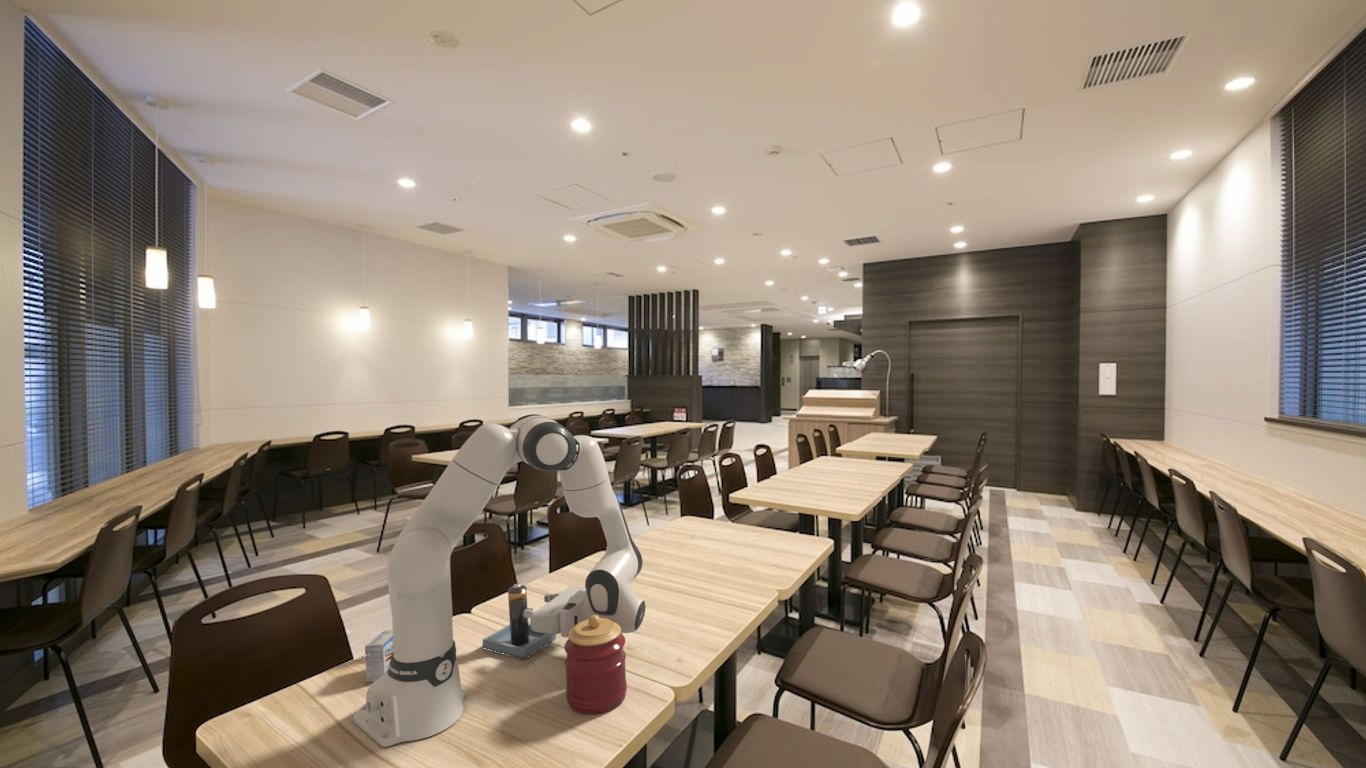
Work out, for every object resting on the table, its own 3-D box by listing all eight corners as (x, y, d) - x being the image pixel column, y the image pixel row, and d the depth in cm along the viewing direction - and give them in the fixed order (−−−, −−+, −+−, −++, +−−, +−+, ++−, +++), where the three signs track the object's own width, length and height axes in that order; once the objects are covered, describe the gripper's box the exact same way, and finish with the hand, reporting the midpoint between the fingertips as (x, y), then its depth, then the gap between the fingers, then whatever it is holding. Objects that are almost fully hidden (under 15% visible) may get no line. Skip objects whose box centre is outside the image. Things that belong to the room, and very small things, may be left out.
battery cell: (507, 642, 139) (504, 586, 139) (522, 635, 143) (519, 580, 142) (518, 647, 136) (514, 589, 136) (533, 639, 140) (529, 583, 140)
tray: (483, 649, 137) (482, 639, 137) (516, 629, 148) (516, 620, 148) (524, 660, 131) (523, 649, 131) (556, 638, 142) (555, 629, 142)
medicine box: (384, 682, 123) (383, 645, 123) (365, 682, 123) (364, 645, 123) (402, 664, 131) (401, 629, 131) (384, 665, 131) (383, 629, 131)
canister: (591, 675, 123) (589, 599, 123) (638, 689, 117) (636, 609, 117) (553, 706, 111) (550, 622, 111) (602, 723, 105) (599, 634, 105)
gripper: (601, 582, 144) (556, 578, 148) (562, 614, 124) (511, 608, 128) (602, 605, 144) (557, 601, 148) (563, 641, 124) (512, 634, 128)
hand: (535, 604), depth 138 cm, fingers open, 8 cm apart
